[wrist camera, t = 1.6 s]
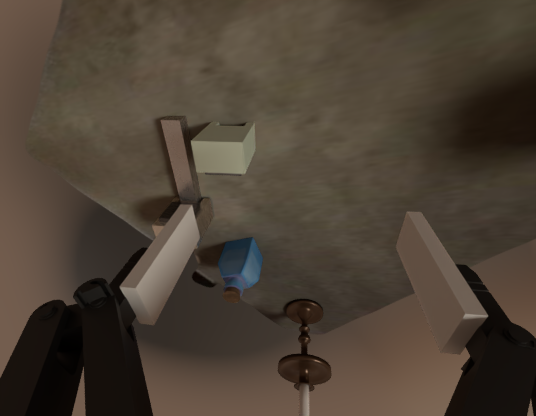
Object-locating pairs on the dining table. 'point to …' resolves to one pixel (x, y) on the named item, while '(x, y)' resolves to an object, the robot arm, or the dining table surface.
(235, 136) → the block
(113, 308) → the robot arm
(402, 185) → the dining table surface
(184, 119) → the grey l-shaped piece
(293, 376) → the candlestick
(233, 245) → the perfume bottle
